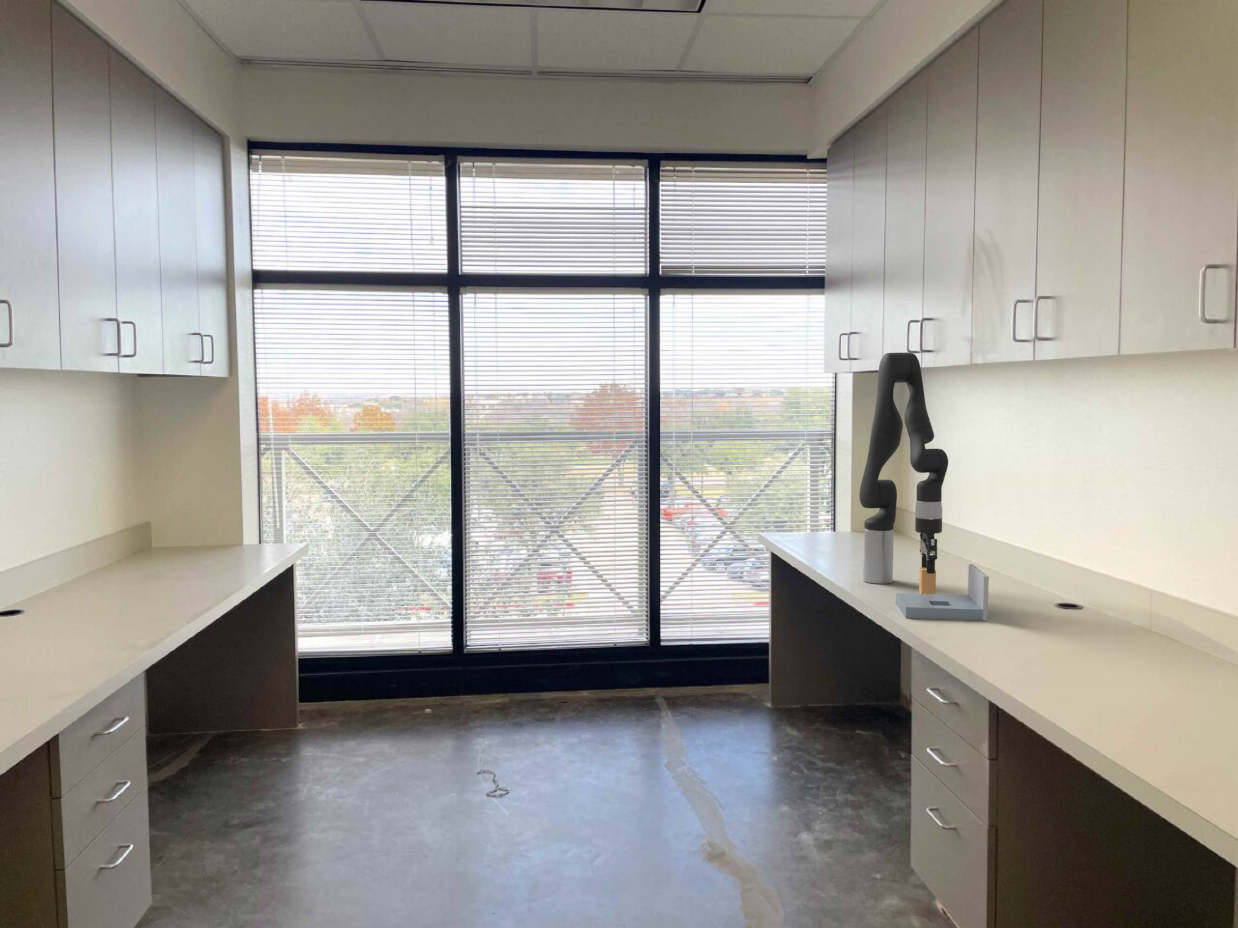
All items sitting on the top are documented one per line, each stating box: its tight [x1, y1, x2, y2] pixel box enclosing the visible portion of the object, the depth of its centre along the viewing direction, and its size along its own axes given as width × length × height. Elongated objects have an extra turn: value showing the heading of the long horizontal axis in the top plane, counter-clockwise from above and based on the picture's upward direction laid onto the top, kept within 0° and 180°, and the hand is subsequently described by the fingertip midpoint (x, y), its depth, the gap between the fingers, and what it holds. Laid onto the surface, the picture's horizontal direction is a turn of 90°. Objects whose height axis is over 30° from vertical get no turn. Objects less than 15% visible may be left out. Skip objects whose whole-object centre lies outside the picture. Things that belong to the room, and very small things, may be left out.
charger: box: [918, 567, 937, 594], centre depth 272 cm, size 4×4×9 cm
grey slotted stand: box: [895, 563, 990, 622], centre depth 256 cm, size 18×21×12 cm
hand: (928, 570), depth 271 cm, fingers open, 8 cm apart
